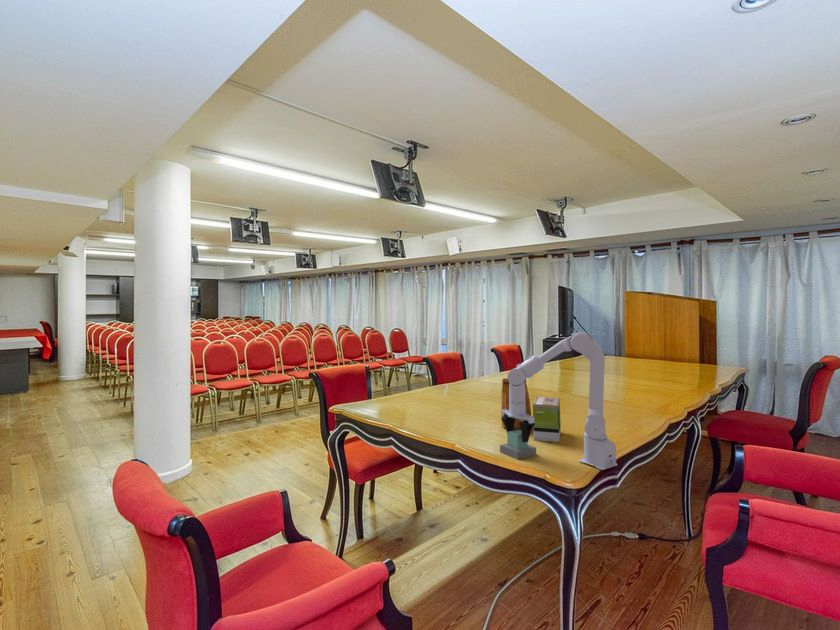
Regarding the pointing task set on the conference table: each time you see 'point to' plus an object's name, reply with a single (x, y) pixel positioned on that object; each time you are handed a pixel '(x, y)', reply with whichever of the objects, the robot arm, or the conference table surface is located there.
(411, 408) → the conference table surface
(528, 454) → the slate plinth
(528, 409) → the coffee package
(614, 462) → the robot arm
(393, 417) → the conference table surface
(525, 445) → the teal cube
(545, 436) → the tea box
